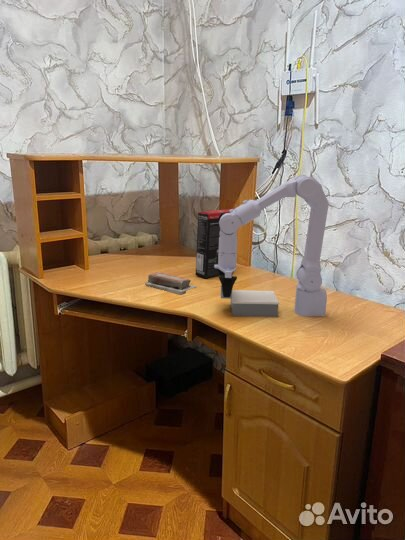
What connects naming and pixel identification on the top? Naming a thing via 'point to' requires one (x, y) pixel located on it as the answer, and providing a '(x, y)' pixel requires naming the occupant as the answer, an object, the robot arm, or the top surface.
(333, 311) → the top surface
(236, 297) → the white slab
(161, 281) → the packaged product
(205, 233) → the graphics card box
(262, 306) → the gray open box
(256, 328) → the top surface
